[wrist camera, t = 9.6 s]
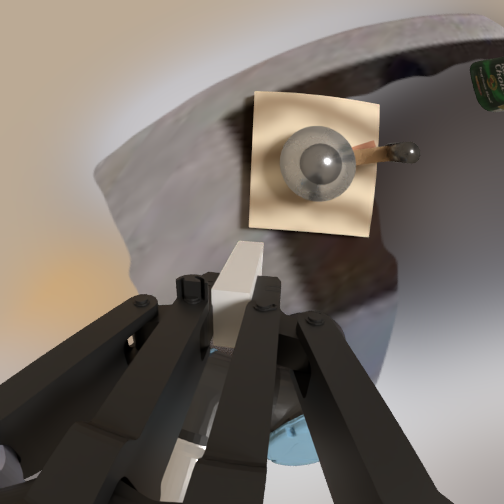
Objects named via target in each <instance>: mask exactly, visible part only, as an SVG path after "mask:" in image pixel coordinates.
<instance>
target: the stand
mask: <svg viewBox="0 0 504 504" xmlns="http://www.w3.org/2000/svg"><path fill="white" fill-rule="evenodd" d="M310 126H323V127H328V128H331V129H333V130H335V131H337V132H338V133H340V134H341V135H342V136H343V137H344V138H345V139H346V140H347V141H348V142H349V144H350V145H351V147H352V149H353V150H359V149H367V148H375V147H378V139H379V138H378V137H379V105H378V104H374V103H368V102H363V101H357V100H351V99H344V98H337V97H329V96H320V95H310V94H299V93H284V92H260V91H255V97H254V119H253V141H252V164H251V187H250V211H249V227H251V228H266V229H279V230H292V231H305V232H317V233H328V234H340V235H351V236H361V237H369V230H370V224H371V216H372V208H373V200H374V191H375V181H376V170H377V163H369V164H362V165H356V171H355V175H354V178H353V181H352V183H351V184H350V186H349V187H348V189H347V190H346V191H345V192H344V193H342V194H341V195H340V196H338V197H336V198H334V199H332V200H328V201H322V202H316V201H310V200H306V199H304V198H302V197H300V196H298V195H297V194H295V193H294V192H293V191H292V190H291V189H290V188H289V187H288V185H287V184H286V182H285V181H284V179H283V176H282V173H281V169H280V155H281V151H282V149H283V146H284V144H285V143H286V141H287V140H288V139H289V138H290V137H291V136H292V135H293V134H294V133H295V132H297V131H299V130H300V129H303V128H305V127H310Z"/></svg>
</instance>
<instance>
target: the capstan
mask: <svg viewBox="0 0 504 504" xmlns="http://www.w3.org/2000/svg"><path fill="white" fill-rule="evenodd" d="M419 157H420V150H419V148H418V146H417V145H416V144H415V143H413V142H402V143H391V144H387V145H385V146H383V147H375V148H367V149H359V150H353V149H352V147H351V145H350V144H349V142H348V141H347V140H346V139H345V138H344V137H343V136H342V135H341V134H340V133H338V132H337V131H335V130H333V129H331V128H328V127H323V126H310V127H305V128H303V129H300V130H299V131H297V132H295V133H294V134H293V135H292V136H291V137H290V138H289V139H288V140H287V141H286V143H285V144H284V146H283V149H282V151H281V155H280V169H281V173H282V176H283V179H284V181H285V182H286V184H287V185H288V187H289V188H290V189H291V190H292V191H293V192H294V193H295V194H297V195H298V196H300V197H302V198H304V199H306V200H310V201H316V202H322V201H328V200H332V199H334V198H336V197H338V196H340V195H341V194H342V193H344V192H345V191H346V190H347V189H348V187H349V186H350V184H351V183H352V181H353V178H354V175H355V171H356V165H362V164H369V163H377V162H384V161H390V162H402V163H415V162H417V161H418V160H419Z"/></svg>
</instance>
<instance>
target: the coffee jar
mask: <svg viewBox="0 0 504 504" xmlns="http://www.w3.org/2000/svg"><path fill="white" fill-rule="evenodd" d="M470 74H471V79H472V83H473V88H474V91H475V94H476V98H477V100H478V102H479V104H480V105H481V106H482V107H483V108H484V109H485V110H487V111H491V112H500V111H504V57H501V58H495V59H489V60H483V61H478V62H475V63H473V64H472V65H471V67H470Z"/></svg>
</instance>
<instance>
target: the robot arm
mask: <svg viewBox="0 0 504 504" xmlns="http://www.w3.org/2000/svg"><path fill="white" fill-rule="evenodd" d="M263 244H264V243H261V242H248V241H238V243H237V244H236V246H235V248H234V250H233V251H232V253H231V255H230V257H229V259H228V260H227V262H226V264H225V266H224V268H223V269H222V271H221V273H215V272H207V273H205V274H203V275H202V276H201V275H184V276H181V277H179V278H177V279H176V289H177V299H176V300H175V301H174V303H173V304H172V305H158V301H157V299H156V297H154V296H152V295H147V294H144V295H143V294H140V295H137V296H134V297H131V298H130V299H128V300H126V301H125V302H124V303H122V304H120V305H119V306H117V307H115V308H114V309H112V310H111V311H109V312H108V313H106V314H105V315H103V316H102V317H100V318H98V319H97V320H96V321H94V322H92V323H91V324H89V325H88V326H86V327H85V328H83V329H82V330H80V331H79V332H77V333H76V334H74V335H73V336H71V337H69V338H68V339H66V340H65V341H63V342H62V343H60V344H59V345H58V346H56V347H55V348H53V349H52V350H50V351H49V352H47V353H46V354H44V355H43V356H41V357H40V358H38V359H37V360H36V361H34V362H32V363H31V364H30V365H28V366H27V367H25V368H24V369H22V370H21V371H19V372H18V373H17V374H15V375H14V376H12V377H11V378H9V379H8V380H7V381H6V382H4V383H2V384H1V385H0V504H263V499H264V491H265V483H266V474H267V459H268V460H271V461H272V462H274V463H276V464H280V465H288V466H299V465H307V464H312V463H316V462H319V461H320V464H321V467H322V470H323V473H324V476H325V479H326V482H327V485H328V488H329V490H330V493H331V496H332V499H333V502H334V504H454V503H453V502H451V501H450V500H449V499H447V498H446V497H445V496H444V495H442V494H441V493H440V492H439V491H438V490H437V488H436V487H435V485H434V483H433V481H432V480H431V478H430V476H429V475H428V473H427V471H426V469H425V467H424V466H423V464H422V463H421V461H420V459H419V457H418V456H417V454H416V452H415V450H414V449H413V447H412V445H411V444H410V442H409V440H408V439H407V437H406V435H405V434H404V433H403V431H402V429H401V427H400V426H399V424H398V422H397V421H396V419H395V417H394V416H393V414H392V412H391V411H390V409H389V408H388V406H387V405H386V403H385V401H384V400H383V398H382V397H381V395H380V393H379V392H378V390H377V389H376V387H375V385H374V384H373V382H372V381H371V379H370V377H369V376H368V374H367V373H366V371H365V370H364V368H363V366H362V365H361V363H360V362H359V360H358V359H357V357H356V356H355V354H354V353H353V351H352V349H351V348H350V346H349V345H348V343H347V342H346V339H345V335H344V332H343V330H342V329H341V327H340V326H339V325H338V323H336V322H335V321H334V320H333V319H331V318H330V317H329V316H328V315H326V314H324V313H322V312H318V311H307V312H303V313H297V314H293V315H290V316H288V315H286V314H284V313H283V312H282V311H281V309H280V294H281V281H280V280H279V279H278V277H269V276H262V261H263ZM130 336H133V341H134V343H133V344H132V345H129V344H128V340H127V339H128V338H129V337H130ZM212 336H213V345H214V346H222V347H230V348H234V351H233V355H229V354H226V353H223V352H219V351H218V350H217V349H215V348H212V349H210V341H211V339H212ZM41 470H42V471H41ZM39 471H41V473H40V474H39V475H38V477H37V478H35V479H32V480H29V481H25V480H24V479H26V478H28V477H30V476H32V475H34V474H36V473H38V472H39Z"/></svg>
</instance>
